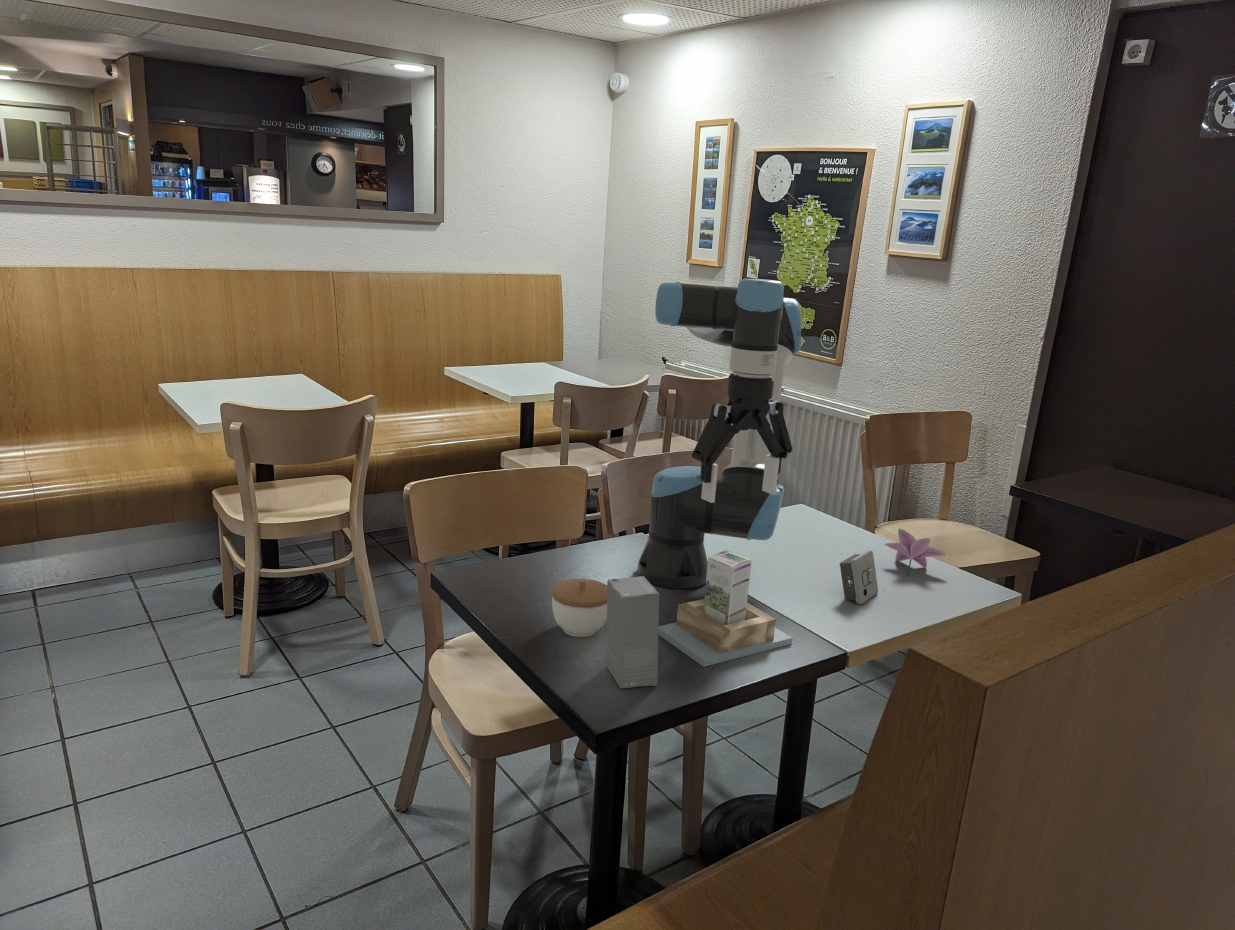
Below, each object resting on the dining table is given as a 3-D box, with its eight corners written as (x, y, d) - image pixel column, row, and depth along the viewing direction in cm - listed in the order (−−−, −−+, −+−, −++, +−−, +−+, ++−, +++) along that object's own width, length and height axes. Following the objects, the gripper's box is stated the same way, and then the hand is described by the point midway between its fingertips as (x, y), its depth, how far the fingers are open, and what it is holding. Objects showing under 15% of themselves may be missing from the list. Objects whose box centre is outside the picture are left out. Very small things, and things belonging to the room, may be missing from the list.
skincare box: (658, 686, 136) (665, 594, 132) (615, 690, 134) (621, 597, 130) (641, 661, 144) (648, 573, 140) (600, 665, 142) (606, 575, 138)
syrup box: (745, 633, 154) (753, 558, 150) (725, 643, 150) (733, 565, 146) (720, 622, 158) (727, 548, 154) (699, 631, 154) (707, 555, 150)
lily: (948, 582, 191) (952, 541, 194) (920, 571, 184) (924, 527, 187) (900, 581, 201) (904, 541, 203) (871, 570, 194) (876, 528, 196)
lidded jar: (553, 615, 160) (555, 567, 157) (610, 619, 159) (614, 572, 157) (547, 641, 149) (549, 591, 147) (608, 645, 149) (611, 595, 147)
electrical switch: (860, 606, 173) (862, 562, 171) (836, 601, 176) (838, 557, 174) (878, 594, 180) (880, 551, 178) (855, 589, 183) (857, 547, 181)
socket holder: (703, 666, 144) (706, 638, 142) (656, 632, 155) (658, 606, 154) (791, 643, 154) (795, 617, 153) (741, 613, 165) (744, 588, 164)
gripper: (706, 380, 133) (694, 510, 138) (822, 375, 146) (807, 494, 151) (677, 372, 139) (667, 497, 144) (791, 368, 152) (778, 483, 158)
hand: (738, 496), depth 148 cm, fingers open, 13 cm apart
